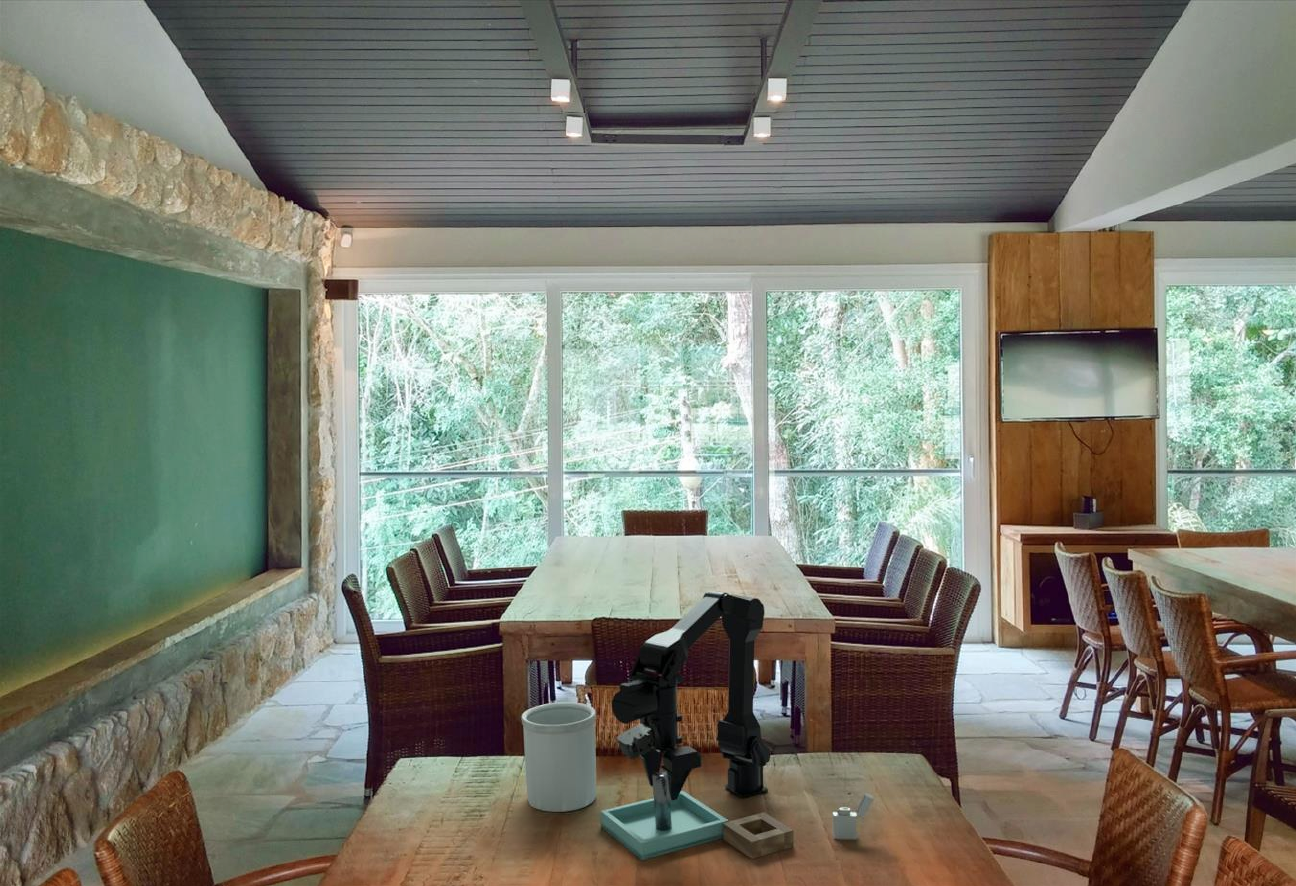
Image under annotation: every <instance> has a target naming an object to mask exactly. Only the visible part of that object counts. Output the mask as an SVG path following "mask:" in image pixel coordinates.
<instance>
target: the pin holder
mask: <svg viewBox="0 0 1296 886" xmlns="http://www.w3.org/2000/svg"><path fill="white" fill-rule="evenodd" d="M722 840H723V841H725V842H727V844H730V845H731V846H732V847H733V848H735V849H737V850H738V851H740V852H741V853H742V854H744V855H745V856H747V857H748V858H749V859H751V860H753V859H757V858H759V857H760V858H761V857H763V856H767V855H770V854H773V853H777V852H780V851H784V850H787V849H791V848H794V840H795V839H794V829H792V828H790V827H789V826H787V825H785V824H784V823H782V822H780V821H779V820H778V819H776V818H774V817H772V816H770V815H769V814H767V813H766V812H760V813H755V814H753V815H749V816H746V817H742V818H738V819H734V820H733V819H732V820H730V821H729V820H728V822H726V823H723V838H722Z"/></svg>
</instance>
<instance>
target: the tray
mask: <svg viewBox="0 0 1296 886" xmlns="http://www.w3.org/2000/svg"><path fill="white" fill-rule="evenodd" d="M670 804H671V821H672V827H671V828H670V829H669V830H665V831H661V830H658V829H656V825H655V809H654V797H653V798H648V799H644V800H639V801H636V802H631V803H627V804H624V805H619V806H616V807H610V808H608V809H607V808H605V809H603V810H600V828H602V829H603V830H605V831H606V833H608V834H609V835H611V836H612V837H613V838H614V839H616V840H617V841H618V842H619V843H620V844H621V845H623V846H624V847H625V848H626V849H627V850H629V851H630V852H631V853H633V854H634V855H635V856H636V857H637V858H638V859H640V860H641V861H645V860H648V859H653V858H655V857H659V856H662V855H666V854H667V855H668V854H670V853H674V852H678V851H681V850H684V849H688V848H693V847H696V846H700V845H704V844H706V842H707V843H709V842H710V843H711V842H714V841H717V840H721V839H723V823H726V822H729V820H728V819H727V818H725V817H724V816H722V815H721V814H720V813H718V812H716V811H714V810H713V809H712V808H710V807H708V806H707V805H705V804H704V803H702V802H701V801H699V800H698V799H697V798H694V797H693V796H692V795H690V794H689V793H687V792H685V791H684V790H681V792H680V794H679V796H678V798H677V800H673V801H672V800H671V798H670Z"/></svg>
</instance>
